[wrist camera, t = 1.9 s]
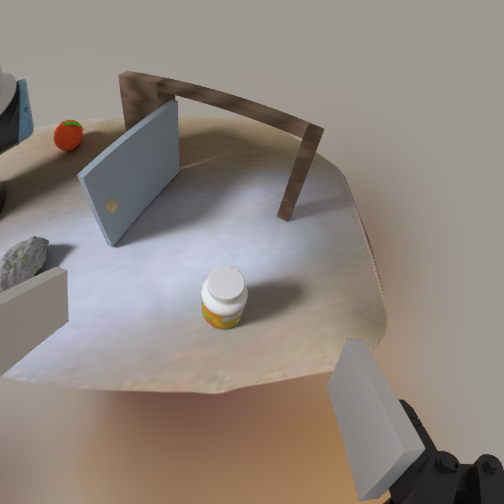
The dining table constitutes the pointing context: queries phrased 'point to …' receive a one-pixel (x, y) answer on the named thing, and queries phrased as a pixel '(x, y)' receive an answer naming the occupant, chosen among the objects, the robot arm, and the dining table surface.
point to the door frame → (164, 89)
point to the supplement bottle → (223, 297)
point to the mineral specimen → (22, 262)
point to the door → (132, 171)
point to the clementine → (68, 135)
